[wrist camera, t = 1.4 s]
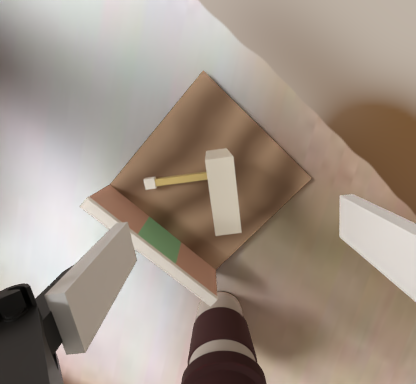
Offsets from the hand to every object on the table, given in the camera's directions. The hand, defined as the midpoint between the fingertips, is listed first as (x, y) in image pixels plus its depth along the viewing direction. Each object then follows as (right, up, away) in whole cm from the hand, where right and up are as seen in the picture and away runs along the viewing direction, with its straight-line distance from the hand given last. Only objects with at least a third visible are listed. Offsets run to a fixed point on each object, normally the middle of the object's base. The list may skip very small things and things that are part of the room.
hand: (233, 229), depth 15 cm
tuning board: (-2, +4, +19) cm, 20 cm away
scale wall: (-8, -4, +20) cm, 22 cm away
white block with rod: (-4, +4, +18) cm, 19 cm away
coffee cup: (0, -17, +25) cm, 31 cm away
